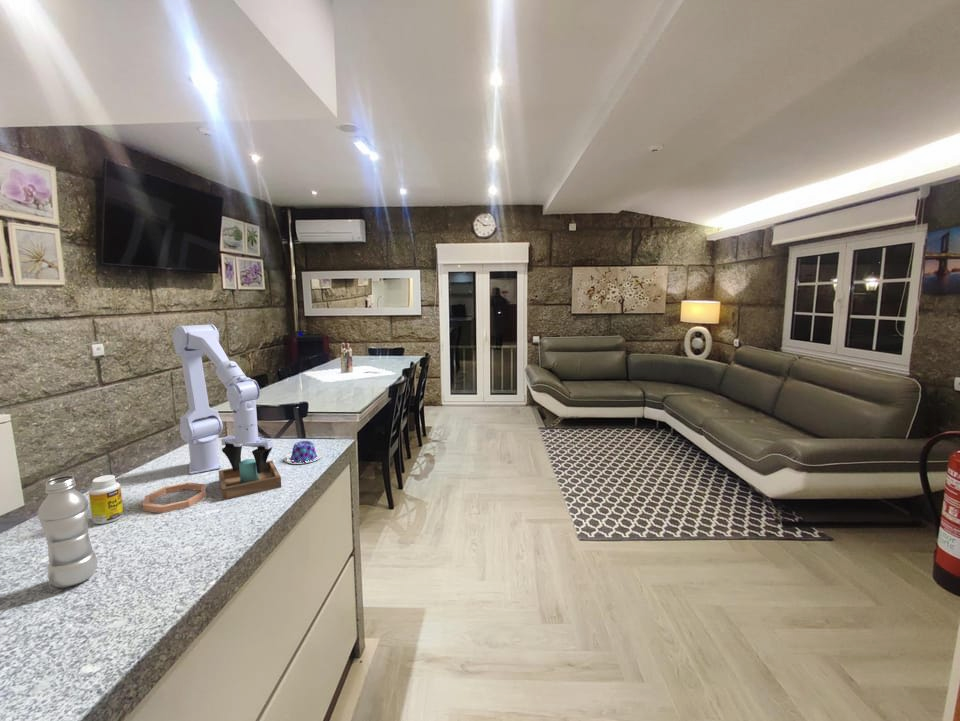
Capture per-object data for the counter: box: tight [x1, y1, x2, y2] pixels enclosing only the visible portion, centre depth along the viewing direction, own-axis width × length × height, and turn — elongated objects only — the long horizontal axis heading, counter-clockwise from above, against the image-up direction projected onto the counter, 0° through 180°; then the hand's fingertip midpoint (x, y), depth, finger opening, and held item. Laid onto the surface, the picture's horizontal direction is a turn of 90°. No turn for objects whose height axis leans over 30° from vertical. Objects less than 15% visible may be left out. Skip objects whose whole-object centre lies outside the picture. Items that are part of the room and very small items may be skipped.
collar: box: [142, 481, 207, 514], centre depth 110 cm, size 13×13×2 cm
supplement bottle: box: [88, 474, 124, 525], centre depth 99 cm, size 6×6×10 cm
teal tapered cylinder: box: [239, 458, 259, 484], centre depth 120 cm, size 4×6×6 cm
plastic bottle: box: [37, 474, 98, 589], centre depth 77 cm, size 6×7×20 cm
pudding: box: [283, 440, 324, 465], centre depth 138 cm, size 12×12×5 cm
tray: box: [218, 460, 282, 501], centre depth 119 cm, size 14×14×3 cm
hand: (249, 470), depth 119 cm, fingers open, 7 cm apart
